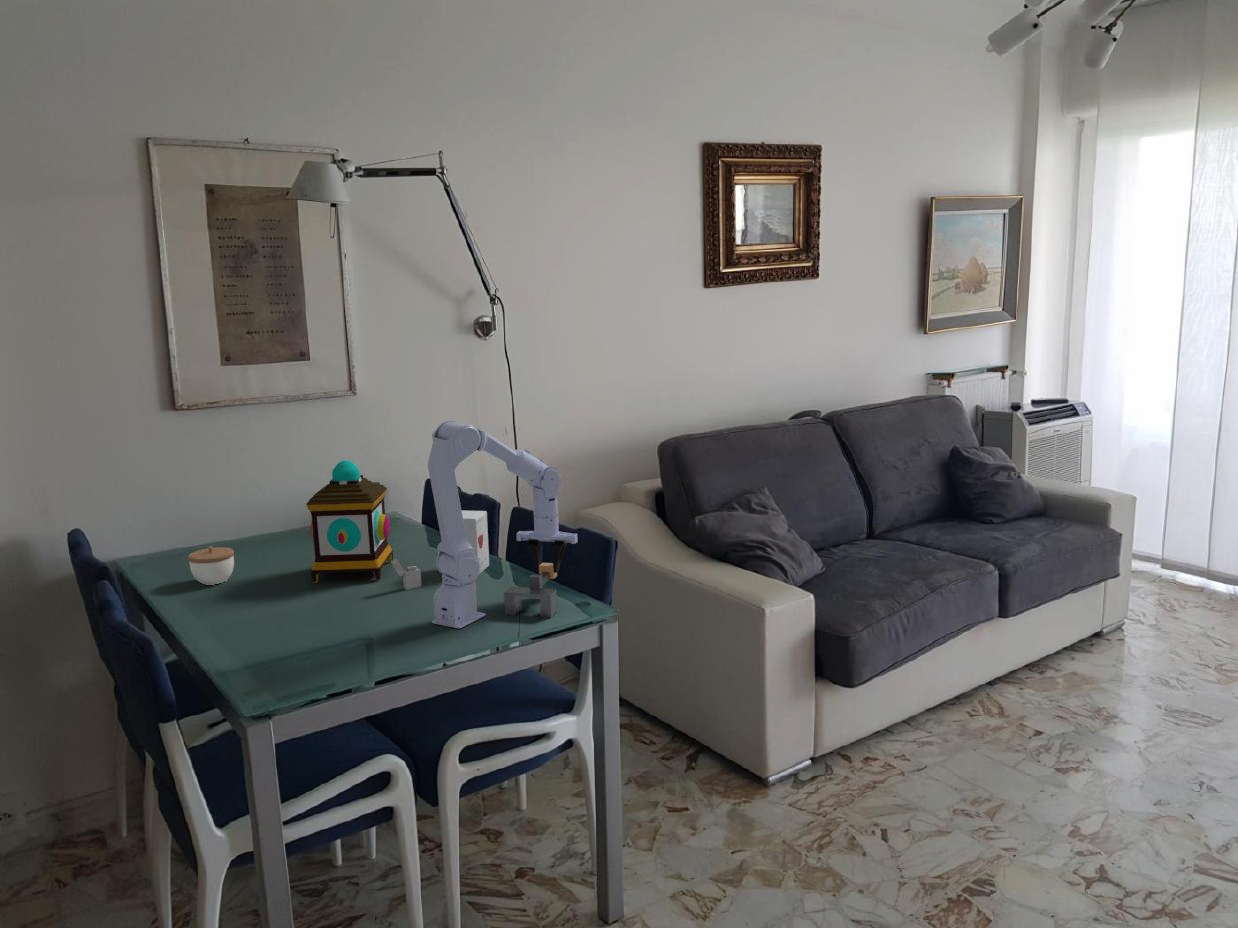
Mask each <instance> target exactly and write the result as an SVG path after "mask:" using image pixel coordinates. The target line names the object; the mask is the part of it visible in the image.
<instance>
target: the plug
mask: <svg viewBox="0 0 1238 928" xmlns="http://www.w3.org/2000/svg"><path fill="white" fill-rule="evenodd" d="M557 577H558V572H557V573H554V569H553V562H543V563H542V564H540V565H539V572H538V574H537V573H536V574H535V573H534V574H533V573H532V574H530V575H529V588H542V589H543V586H544V585H545V584H546V583H547V582H548V581H549V580H550V579H552V580H554V579H555V578H557Z"/></svg>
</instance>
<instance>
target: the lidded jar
mask: <svg viewBox="0 0 1238 928" xmlns="http://www.w3.org/2000/svg"><path fill="white" fill-rule="evenodd" d="M234 552H235V551H234V549H233V548H231V547H223V546H222V547H213V546H212V545H211V546H208V547H206V548H204V549H198V550H195V551H193V552H191V553H190V554H188V556H187V557H188V558H187V559H188V562H189V563H188V564H189V568H190V573H191V575H192V576H193V578H194V579H195V580H196V581H197V582H199V583H200V584H201V583H202V584H206V585H213V586H215V585H214V584H219V583H222V582H224V581H226V582H227V581H228V579H229V578H230V577H231V575H232V574H233V571H234V568H235V556H234V554H235V553H234ZM202 584H201V585H202ZM222 584H223V583H222ZM219 585H220V584H219Z"/></svg>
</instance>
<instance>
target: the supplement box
mask: <svg viewBox="0 0 1238 928" xmlns="http://www.w3.org/2000/svg"><path fill="white" fill-rule="evenodd" d="M461 510H462V509H461ZM487 511H488V510H487ZM487 511H486V510H464V509H463V510H462V516H463V521H464V527H465V533H466V538H467V540H468V541H469V543H470V544H471V546H472V547H473V549H474V554H475V556H476V558H477V559H478V560H479V562H480V566H481V569H480V573H479V575H480V574H481V573H482V572H483V571H485V570H486V569H487V568H488V567H490V554H489V553H490V550H489V549H490V548H489V533H488V531H489V530H488V512H487Z"/></svg>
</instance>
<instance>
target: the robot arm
mask: <svg viewBox="0 0 1238 928" xmlns="http://www.w3.org/2000/svg"><path fill="white" fill-rule="evenodd" d="M431 437H432V445H431V449H430V453H429V457H428V460H427V468H428V475H429V479H430V485H431V486H430V487H431V489H432V491H431V492H432V496H433V501H434V507H435V511H436V517H437V523H438V528H439V533H440V539H441V541H440V542H439V543H438V544H437V547H436V548H437V557H436V561H435V565H436V569H437V570H438V571H439V573H441V575H442V576H441V577H442V580H441V581H442V583H441V585H440V587H439V588H437V589H436V590H435V592H434V594H433V597H432V598H433V612H434V613H433V614H434V619H433V620H432V621H431V623H432V624H435V625H439V626H444V627H450V628H453V629H462V628H463V627H466V626H467V625H469V624H473V622H475V621H478V620H479V619H481V618H484V617H485V616H486V613H485V612H481V611H478V604H477V603H478V602H477V583H476V582H477V578H478V577H479V575H480V574H481V573H480V569H481V566H480V562H479V560H478V559H477V558H476V556H475V554H474V549H473V547H472V546H471V544H470V543H469V541H468V540H467V538H466V533H465V527H464V521H463V516H462V505H461V501H460V494H459V489H458V484H457V478H456V477H457V476H456V472H455V470H456V468H458V466H459V465H460V464H461V463H462V462H463V461H465V460H466V459H467V458H468V457H470V456H471V455H472V454H474V453H475V452H476V451H477V452H478V451H479V452H481V451H484V452H486V453H487V454H489V455H491V456H493V457H494V458H496V459H498V460H500V461H502V462H504V463H505V465H506V466H505V467H506V469H507V471H509V472H510V473H511V474H514V475H515V476H517V477H519V478H520V479H521V480H524V481H525V482H526V483H527V484H528V486H530V487H532V503H533V507H532V508H533V523H534V525H533V527H534V528H533V529H534V530H523V531H522V530H519V531H518V532H516V542H522V541H527V544H526V548H527V550H528V552H529V553H530V555H531V557H532V559H533V562H534V565H535V567H536V568H535V569H536V571H537V572H538V573H539V565H540V564H542V563H544V562H543V548H544V547H543V544H544V542H547V543H549V542H550V543H552V544H551V545H550V549H551V552H552V561H553V562H552V563H553V569H554V573H557V574H558V572H560V569H561V568H560V566H561V563H562V562H561V561H562V557H563V554H564V552H565V550H566V548H567V545H568V543H569V544H573V545H575V544H577V543H578V533H573V532H572V533H571V532H564V531H559V528H560V527H559V508H558V507H559V504H558V503H559V502H558V495H559V489H560V487H561V485H562V482H563V477H562V476H561V475H560V474H561V473H560V472H559V469H557V468H556V467H554V466H551V465H547V464H546V461H545V460H544V459H542V458H539V459H538V458H537V457H535V456H534V455H532V453H531V451H530V450H529V449H526V448H523V449H522V448H517V449H515V450H513V449H512V448H511V447H509V446H507V445H506V444H505V443H503V442H502V441H500V440H499V439H497V438H495V437H494V436H492V435H491V434H490V433H488V432H486V431H485V430H482V429H480V428H477V427H476V426H474V425H472V424H463V423H458V422H456V421H453V420H446V421H443V422H441V423H440V424H439V425H438V426H437V428H436V429H435V430H434V432H432V434H431ZM479 573H480V574H479Z"/></svg>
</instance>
